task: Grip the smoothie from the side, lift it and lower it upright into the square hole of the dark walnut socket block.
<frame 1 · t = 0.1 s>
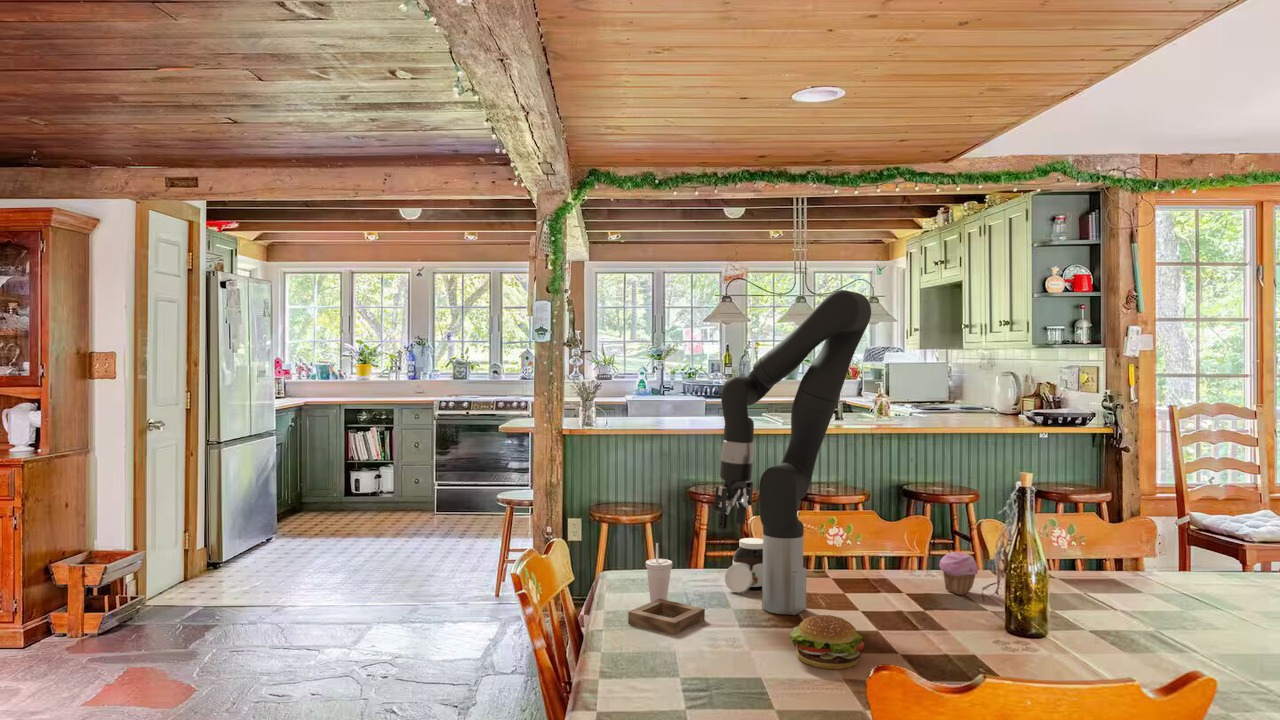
hand: (731, 526, 193), 17 cm above the table, tool pointing down, fingers open, 8 cm apart
cupcake: (958, 593, 201), on the table
walnut socket block: (666, 621, 175), on the table
food: (824, 659, 155), on the table
spread jar: (748, 589, 202), on the table
smoothie: (658, 603, 189), on the table
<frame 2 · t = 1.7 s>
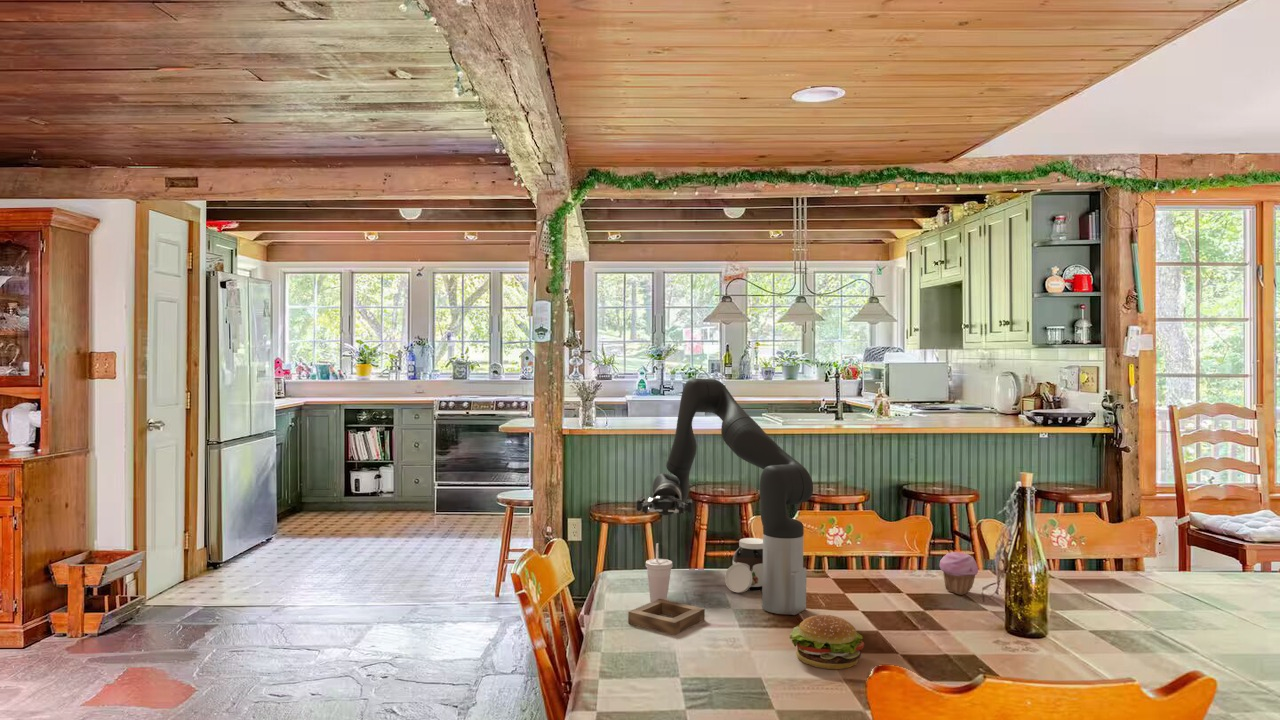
hand: (662, 510, 200), 20 cm above the table, tool horizontal, fingers open, 8 cm apart
nothing on the table moved.
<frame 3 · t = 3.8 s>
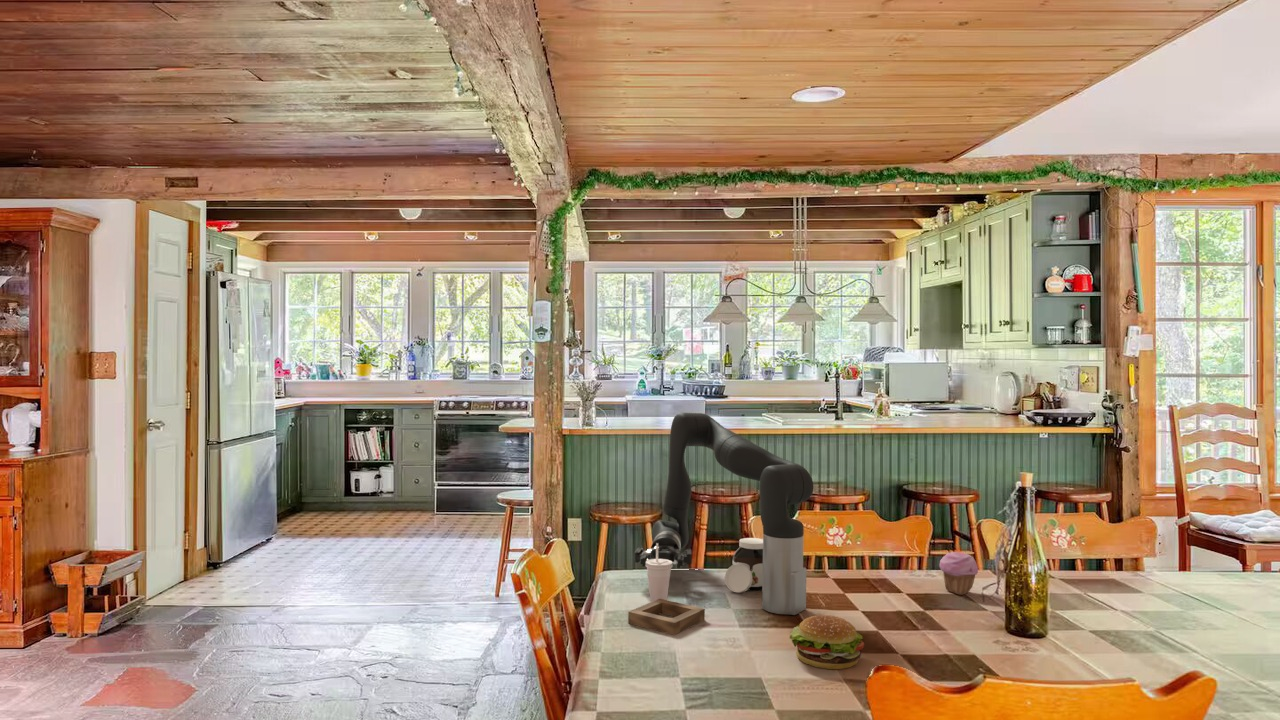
hand: (661, 562, 195), 8 cm above the table, tool horizontal, fingers open, 8 cm apart
nothing on the table moved.
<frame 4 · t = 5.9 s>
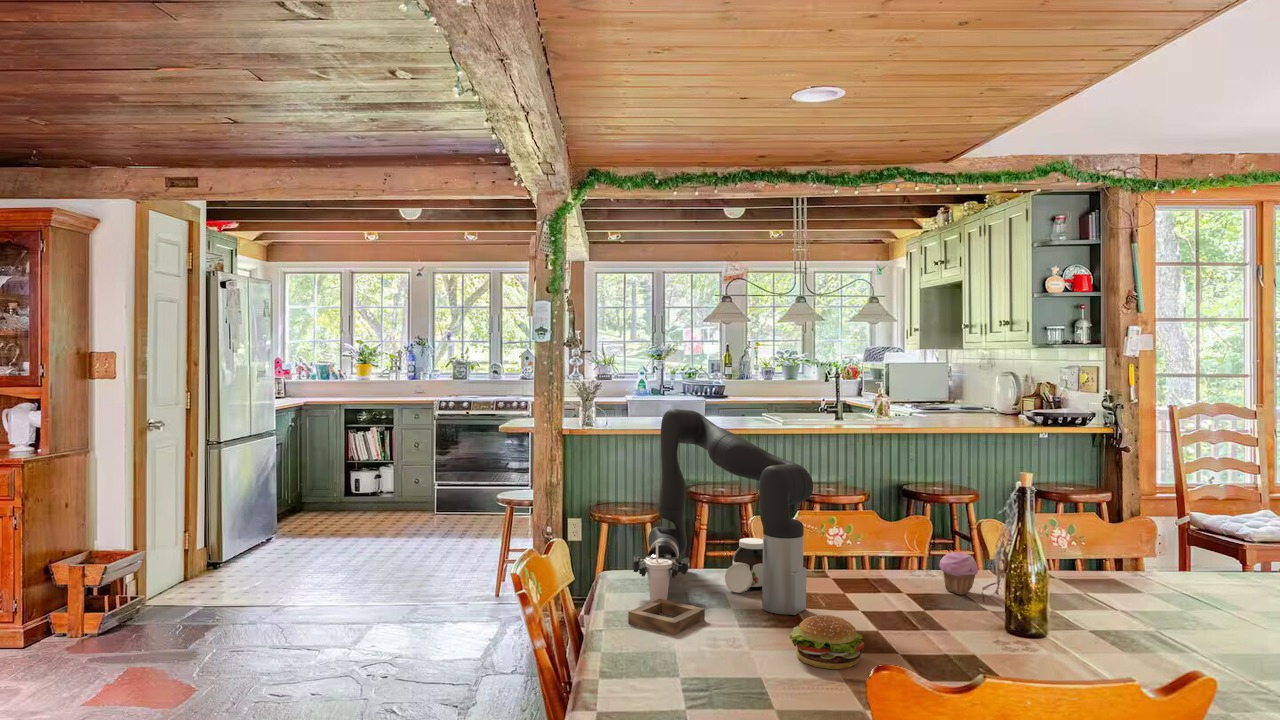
hand: (658, 572, 186), 8 cm above the table, tool horizontal, fingers closed on smoothie, 6 cm apart
smoothie: (658, 603, 189), on the table, touching gripper
everything else where it was.
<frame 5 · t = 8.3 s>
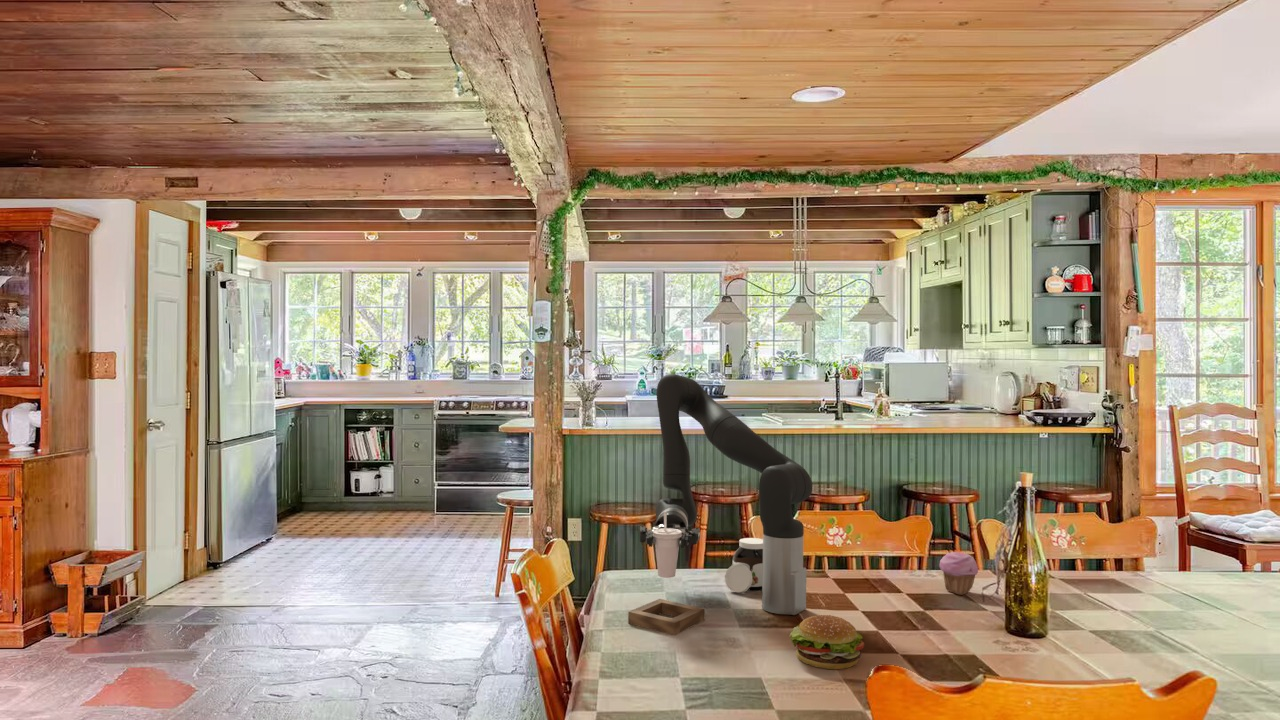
hand: (666, 542, 173), 18 cm above the table, tool horizontal, fingers closed on smoothie, 6 cm apart
smoothie: (666, 576, 176), point 10 cm above the table, touching gripper
everything else where it was.
when the fingers open (9 cm above the table, at t = 10.6 s): smoothie stays where it is, resting in walnut socket block.
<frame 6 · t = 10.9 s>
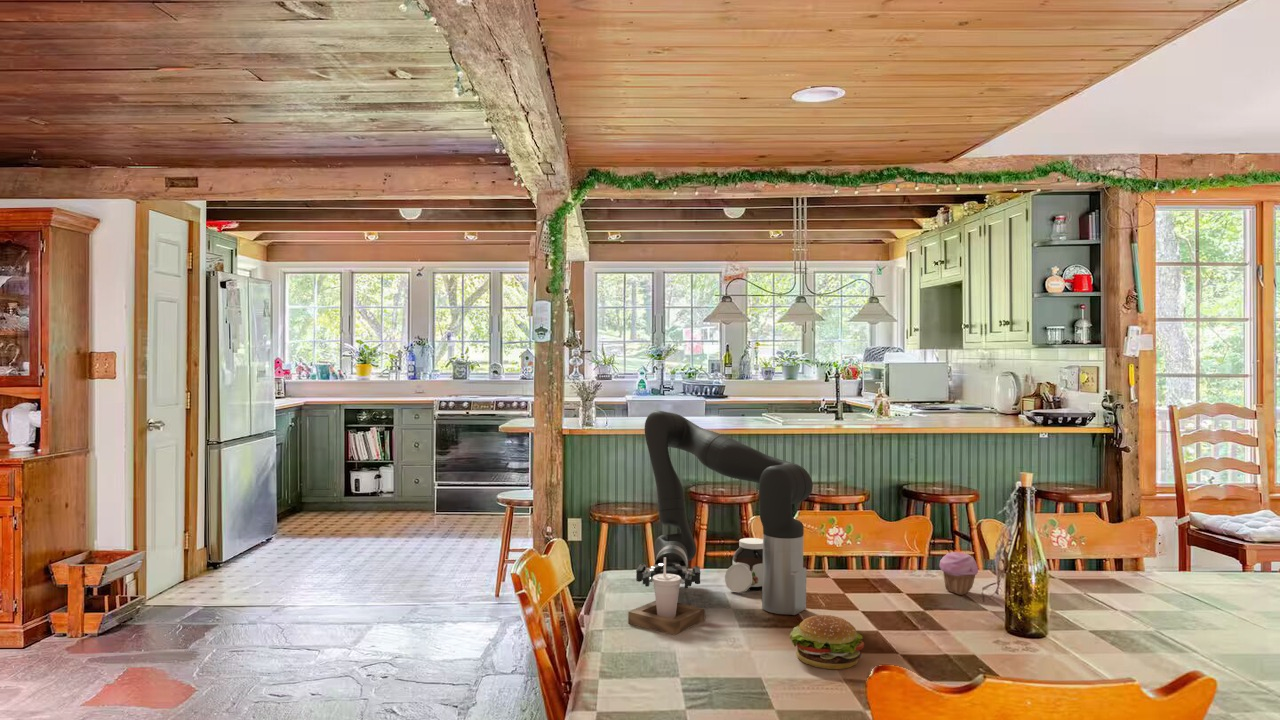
hand: (666, 582, 173), 9 cm above the table, tool horizontal, fingers open, 8 cm apart
smoothie: (666, 622, 175), resting in walnut socket block
everything else where it was.
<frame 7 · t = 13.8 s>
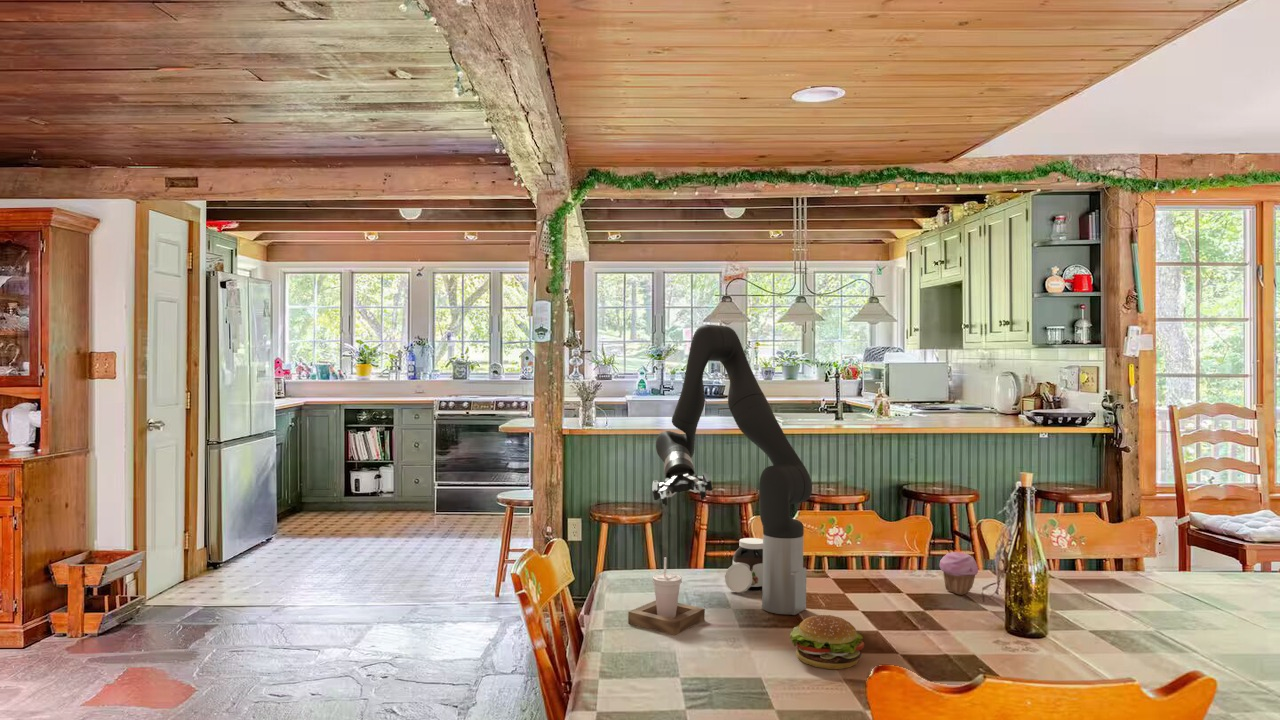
hand: (684, 499, 187), 25 cm above the table, tool tilted 75°, fingers open, 8 cm apart
nothing on the table moved.
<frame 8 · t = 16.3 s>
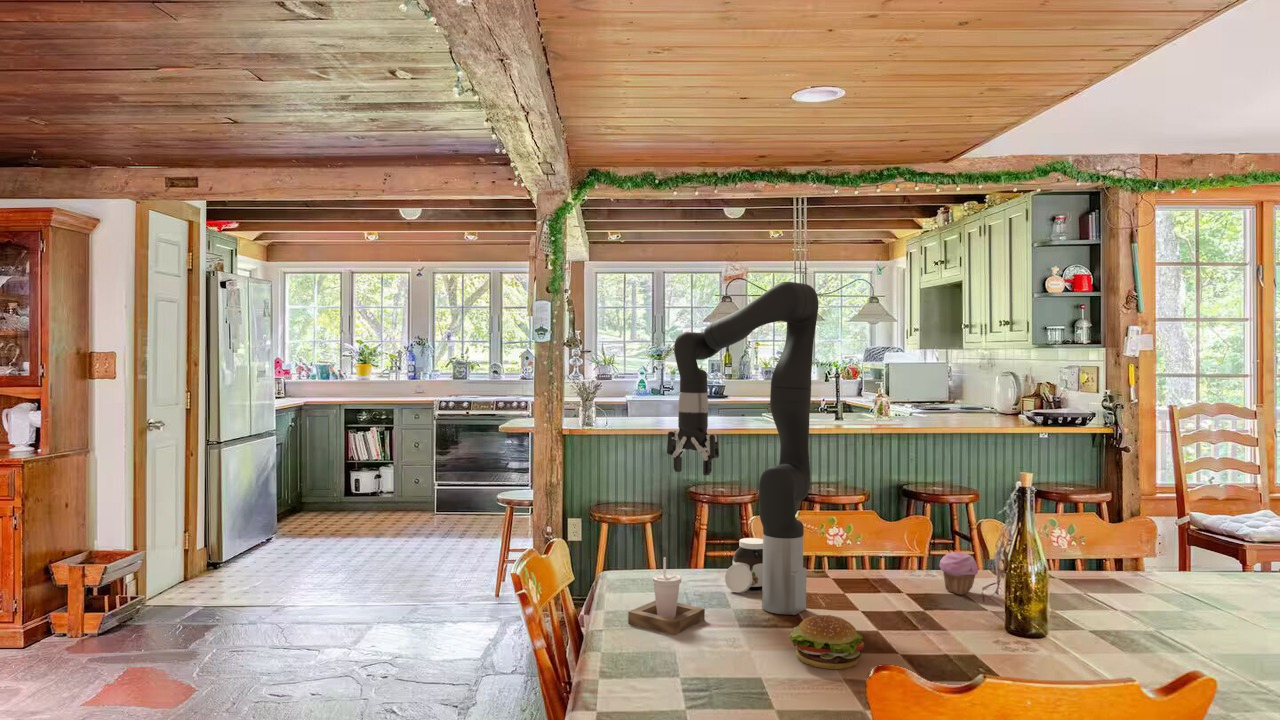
hand: (692, 473, 206), 28 cm above the table, tool pointing down, fingers open, 8 cm apart
nothing on the table moved.
at the end: smoothie 0.1 cm off-centre on the walnut socket block, point 0.0 cm above the walnut socket block's base; smoothie tilted 0°; the gripper is holding nothing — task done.
